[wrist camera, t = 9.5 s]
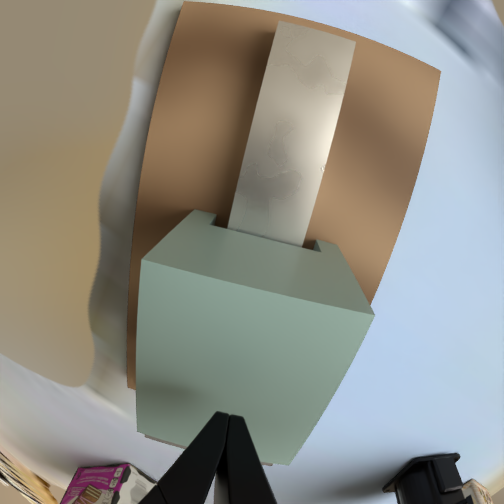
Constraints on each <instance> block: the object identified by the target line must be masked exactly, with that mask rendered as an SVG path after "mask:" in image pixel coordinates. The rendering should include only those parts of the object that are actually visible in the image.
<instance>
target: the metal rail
mask: <svg viewBox="0 0 504 504" xmlns="http://www.w3.org/2000/svg"><path fill="white" fill-rule="evenodd" d="M355 45H356V42H355V41H352V40H349V39H346V38H343V37H340V36H337V35H334V34H330V33H327V32H324V31H320V30H316V29H313V28H309V27H305V26H301V25H297V24H293V23H288V22H284V21H279V22H278V26H277V30H276V33H275V37H274V40H273V44H272V48H271V52H270V55H269V59H268V63H267V67H266V70H265V74H264V78H263V82H262V86H261V90H260V93H259V97H258V101H257V105H256V109H255V113H254V117H253V121H252V125H251V129H250V133H249V137H248V142H247V146H246V150H245V154H244V158H243V162H242V167H241V171H240V175H239V179H238V184H237V188H236V192H235V196H234V201H233V205H232V210H231V214H230V218H229V223H228V227H227V229H229V230H233V231H237V232H241V233H245V234H249V235H253V236H258V237H262V238H266V239H270V240H274V241H278V242H282V243H286V244H290V245H294V246H297V247H301V248H302V245H303V242H304V238H305V235H306V232H307V228H308V225H309V222H310V218H311V215H312V211H313V208H314V205H315V201H316V198H317V194H318V191H319V187H320V184H321V180H322V176H323V173H324V169H325V166H326V162H327V158H328V155H329V151H330V147H331V143H332V140H333V136H334V132H335V128H336V124H337V120H338V116H339V112H340V108H341V104H342V100H343V96H344V92H345V88H346V84H347V80H348V75H349V71H350V67H351V62H352V58H353V54H354V49H355Z"/></svg>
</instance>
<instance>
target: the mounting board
mask: <svg viewBox="0 0 504 504" xmlns="http://www.w3.org/2000/svg"><path fill="white" fill-rule="evenodd" d="M279 21H284V22H288V23H293V24H297V25H301V26H305V27H309V28H313V29H316V30H320V31H324V32H327V33H330V34H334V35H337V36H340V37H343V38H346V39H349V40H352V41H355V42H356V45H355V49H354V54H353V58H352V62H351V67H350V71H349V75H348V80H347V84H346V88H345V92H344V96H343V100H342V104H341V108H340V112H339V116H338V120H337V124H336V128H335V132H334V136H333V140H332V143H331V147H330V151H329V155H328V158H327V162H326V166H325V169H324V173H323V176H322V180H321V184H320V187H319V191H318V194H317V198H316V201H315V205H314V208H313V211H312V215H311V218H310V222H309V225H308V228H307V232H306V235H305V238H304V242H303V245H302V248H305V249H309V250H313V249H314V245H315V242H316V239H317V240H321V241H325V242H329V243H332V244H336V245H338V247H339V249H340V250H341V252H342V254H343V256H344V258H345V259H346V261H347V263H348V265H349V267H350V268H351V270H352V272H353V274H354V276H355V278H356V280H357V281H358V283H359V285H360V287H361V289H362V291H363V293H364V295H365V297H366V299H367V300H368V302H369V304H370V305H371V302H372V300H373V298H374V295H375V293H376V291H377V288H378V286H379V284H380V281H381V279H382V276H383V274H384V271H385V269H386V266H387V264H388V261H389V259H390V256H391V253H392V251H393V248H394V245H395V243H396V240H397V237H398V234H399V232H400V229H401V226H402V223H403V220H404V217H405V214H406V211H407V208H408V205H409V202H410V199H411V195H412V192H413V189H414V186H415V182H416V179H417V175H418V172H419V168H420V165H421V161H422V157H423V154H424V150H425V146H426V142H427V138H428V134H429V129H430V125H431V121H432V116H433V111H434V106H435V101H436V96H437V91H438V86H439V80H440V74H441V71H440V70H438V69H436V68H434V67H432V66H430V65H428V64H426V63H424V62H422V61H420V60H418V59H416V58H414V57H411V56H409V55H407V54H405V53H403V52H400V51H398V50H396V49H393V48H391V47H388V46H386V45H383V44H381V43H378V42H376V41H373V40H371V39H368V38H365V37H362V36H360V35H357V34H354V33H351V32H348V31H345V30H342V29H338V28H335V27H332V26H328V25H325V24H322V23H318V22H314V21H310V20H307V19H303V18H298V17H294V16H290V15H285V14H281V13H276V12H271V11H265V10H260V9H254V8H247V7H240V6H233V5H225V4H215V3H204V2H188V1H184V2H183V5H182V8H181V11H180V14H179V17H178V20H177V23H176V26H175V30H174V33H173V36H172V39H171V43H170V46H169V49H168V53H167V56H166V60H165V64H164V67H163V71H162V75H161V79H160V83H159V87H158V91H157V95H156V99H155V104H154V108H153V113H152V117H151V122H150V127H149V132H148V137H147V142H146V147H145V153H144V159H143V164H142V170H141V177H140V183H139V190H138V197H137V205H136V212H135V221H134V230H133V239H132V250H131V261H130V275H129V291H128V315H127V385H128V388H131V389H134V390H136V337H137V314H138V297H139V283H140V271H141V260H142V258H143V257H144V256H145V255H146V254H147V253H148V252H149V251H151V250H152V249H153V248H154V247H155V246H156V245H157V244H158V243H159V242H160V241H161V240H162V239H163V238H164V237H165V236H166V235H167V234H168V233H169V232H171V231H172V230H173V229H174V228H175V227H176V226H177V225H178V224H179V223H180V222H181V221H182V220H183V219H185V218H186V217H187V216H188V215H189V214H190V213H191V212H192V211H193V210H194V209H196V210H200V211H205V212H209V213H213V214H217V215H216V220H215V224H214V226H217V227H221V228H225V229H227V227H228V223H229V218H230V214H231V210H232V205H233V201H234V196H235V192H236V188H237V184H238V179H239V175H240V171H241V167H242V162H243V158H244V154H245V150H246V146H247V142H248V137H249V133H250V129H251V125H252V121H253V117H254V113H255V109H256V105H257V101H258V97H259V93H260V90H261V86H262V82H263V78H264V74H265V70H266V67H267V63H268V59H269V55H270V52H271V48H272V44H273V40H274V37H275V33H276V30H277V26H278V22H279Z"/></svg>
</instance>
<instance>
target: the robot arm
mask: <svg viewBox="0 0 504 504" xmlns="http://www.w3.org/2000/svg"><path fill="white" fill-rule="evenodd" d="M459 459H460V455H459V454H452V455H444V456H435V457H425V458H417V459H414V460H413V461H412V462H411V463H410V464H409V465H408V466H407V467H406V468H405V469H403V470H402V471H401V472H400V473H399V474H398V475H397V476H396V477H395V478H394V479H393V480H392V481H390V482H389V483H388V484H387V485H386V486H385V487H384V488H383V492H384V493H387V492H395V494H396V498H397V503H398V504H477V503H476V501H475V499H474V498H473V496H472V495H471V494H470V495H469V496H467V497H466V498H465V497H464V494H463V491H462V488H463V483H462V481H461V478H460V475H459V473H458V470H457V467H456V465H455V463H456V462H457V461H458V460H459ZM215 473H216V475H215ZM214 476H215V488H214V504H277V502H276V499H275V497H274V494H273V492H272V489H271V487H270V485H269V482H268V480H267V477H266V475H265V472H264V469H263V467H262V464H261V462H260V459H259V457H258V454H257V451H256V449H255V446H254V443H253V441H252V438H251V435H250V433H249V430H248V427H247V424H246V422H245V419H244V417H243V416H239V415H234V414H231V415H229V414H228V413H225V412H221V411H216V412H215V413H214V414H213V416H212V417H211V418H210V420H209V421H208V422H207V423H206V425H205V426H204V427H203V428H202V430H201V431H200V432H199V433H198V435H197V436H196V437H195V438H194V440H193V441H192V442H191V443H190V444H189V446H188V447H187V448H186V449H185V451H184V452H183V453H182V454H181V455H180V457H179V458H178V459H177V460H176V461H175V462H174V464H173V465H172V466H171V467H170V468H169V470H168V471H167V472H166V473H165V474H164V475H163V477H162V478H161V479H160V480H159V481H158V482H157V485H154V487H153V488H152V489H151V490H150V491H149V492H148V493H147V494H146V495H145V496H144V497H143V498H142V499H141V500H140V501H139V502H138V503H137V504H204V502H205V500H206V497H207V495H208V492H209V489H210V487H211V484H212V481H213V479H214Z"/></svg>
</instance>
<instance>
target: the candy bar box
mask: <svg viewBox="0 0 504 504" xmlns="http://www.w3.org/2000/svg"><path fill="white" fill-rule="evenodd" d="M154 485H157V482H155V481H154V480H152V479H151V478H149V477H148V476H146V475H145V474H144V473H142V472H141V471H140V470H138V469H137V468H135V467H134V466H132V465H131V464H122V465H113V466H101V467H86V468H78V469H77V471H76V473H75V475H74V477H73V479H72V481H71V483H70V484H69V486H68V488H67V490H66V492H65V494H64V496H63V498H62V501H61V503H60V504H137V503H138V502H139V501H140V500H141V499H142V498H143V497H144V496H145V495H146V494H147V493H148V492H149V491H150V490H151V489H152V488H153V487H154Z"/></svg>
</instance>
